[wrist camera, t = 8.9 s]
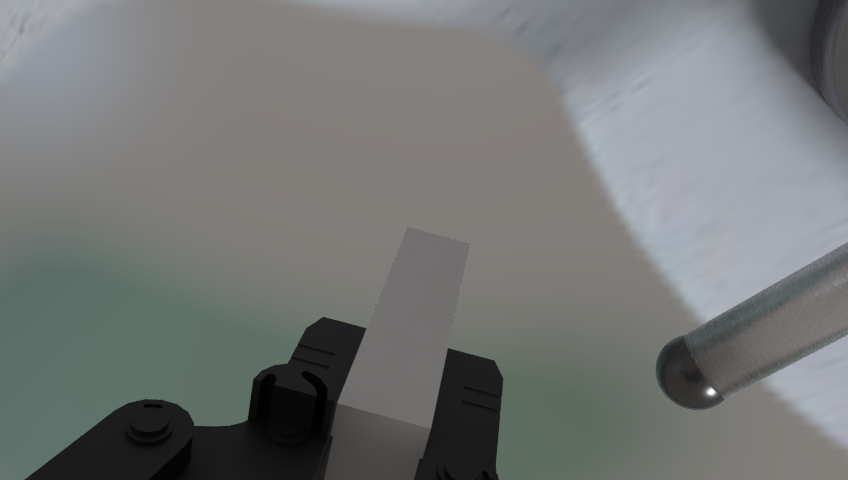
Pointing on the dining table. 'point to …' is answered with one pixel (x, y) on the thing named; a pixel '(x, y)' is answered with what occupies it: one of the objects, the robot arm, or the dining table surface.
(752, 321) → the capstan
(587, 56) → the dining table surface
